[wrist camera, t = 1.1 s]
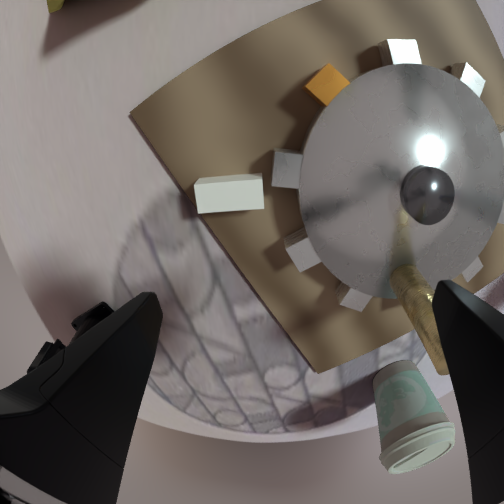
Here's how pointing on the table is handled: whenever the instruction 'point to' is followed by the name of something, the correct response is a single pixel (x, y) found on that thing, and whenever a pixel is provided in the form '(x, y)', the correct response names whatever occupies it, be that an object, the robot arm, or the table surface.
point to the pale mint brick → (229, 193)
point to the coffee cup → (409, 419)
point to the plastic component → (54, 5)
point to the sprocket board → (291, 137)
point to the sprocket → (396, 182)
